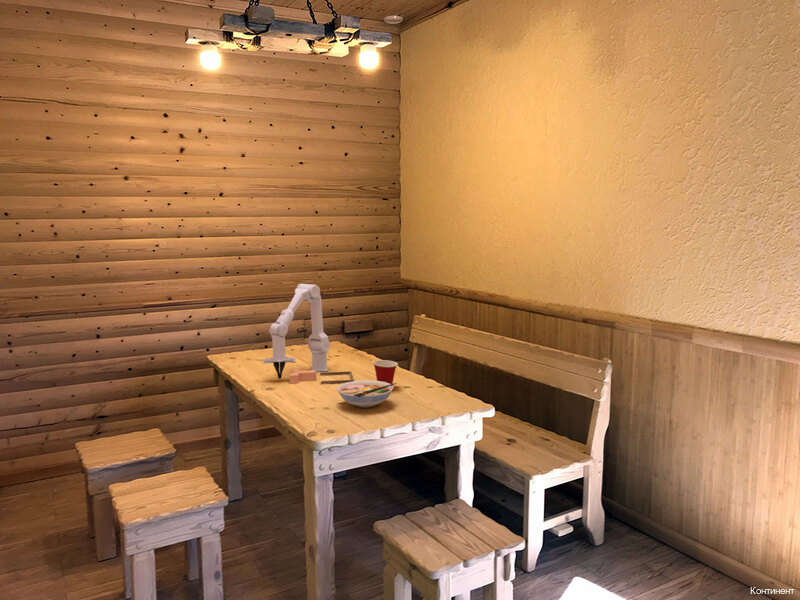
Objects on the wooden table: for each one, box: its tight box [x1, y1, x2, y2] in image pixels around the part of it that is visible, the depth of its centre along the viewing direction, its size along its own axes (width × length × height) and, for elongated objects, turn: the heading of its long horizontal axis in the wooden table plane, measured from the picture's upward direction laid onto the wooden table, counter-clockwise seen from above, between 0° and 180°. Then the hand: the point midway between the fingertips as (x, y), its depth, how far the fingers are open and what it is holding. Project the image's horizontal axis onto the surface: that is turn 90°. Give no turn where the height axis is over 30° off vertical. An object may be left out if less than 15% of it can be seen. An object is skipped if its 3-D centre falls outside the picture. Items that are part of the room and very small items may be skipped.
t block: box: [288, 368, 317, 385], centre depth 304 cm, size 12×12×4 cm
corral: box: [319, 370, 355, 385], centre depth 307 cm, size 17×15×1 cm
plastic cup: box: [372, 359, 399, 385], centre depth 288 cm, size 11×11×12 cm
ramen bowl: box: [336, 379, 398, 409], centre depth 264 cm, size 25×23×8 cm
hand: (279, 378), depth 303 cm, fingers closed
